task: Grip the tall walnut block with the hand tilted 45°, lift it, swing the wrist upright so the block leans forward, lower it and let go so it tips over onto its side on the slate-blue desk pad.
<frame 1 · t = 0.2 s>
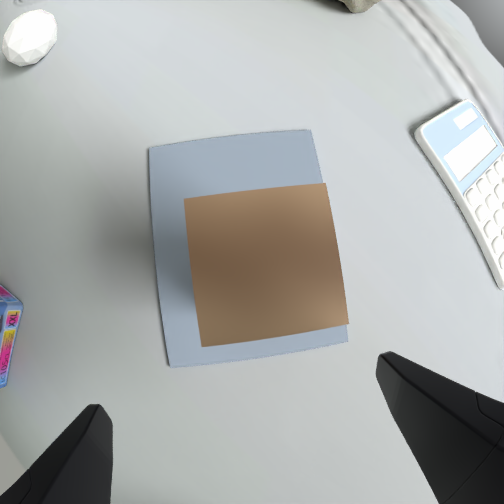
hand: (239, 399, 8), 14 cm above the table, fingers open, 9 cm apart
calculator: (486, 189, 27), on the table
geometric ball: (41, 54, 26), on the table
desk pad: (244, 241, 24), on the table
walnut block: (249, 279, 23), resting on desk pad
ink cartridge box: (0, 334, 21), on the table
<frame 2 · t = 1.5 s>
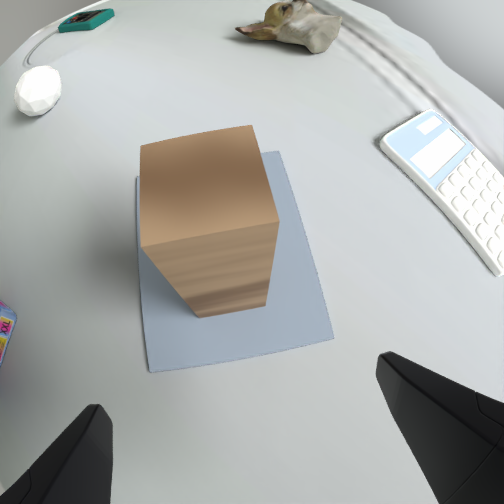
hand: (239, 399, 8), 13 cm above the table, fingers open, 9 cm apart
calculator: (462, 186, 29), on the table
geometric ball: (48, 108, 34), on the table
digital multimeter: (86, 25, 49), on the table
desk pad: (221, 247, 25), on the table
ceramic sculpture: (291, 42, 39), on the table
walnut block: (226, 281, 23), resting on desk pad
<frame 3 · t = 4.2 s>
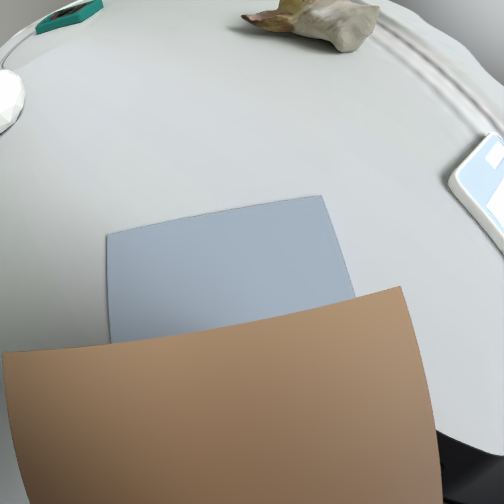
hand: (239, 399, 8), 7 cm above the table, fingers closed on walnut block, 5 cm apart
geometric ball: (10, 123, 25), on the table
digital multimeter: (69, 22, 40), on the table
desk pad: (240, 363, 15), on the table
ceramic sculpture: (312, 37, 30), on the table
walnut block: (250, 417, 14), resting on desk pad, touching gripper
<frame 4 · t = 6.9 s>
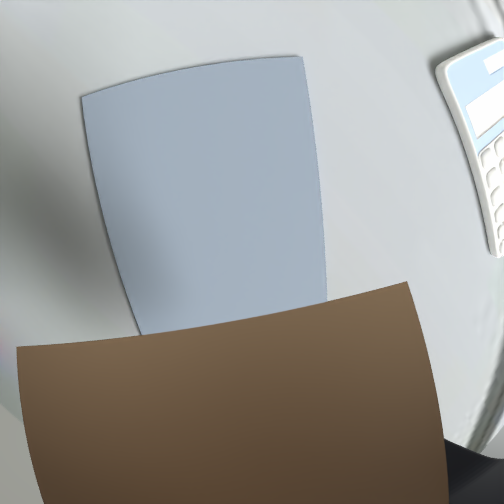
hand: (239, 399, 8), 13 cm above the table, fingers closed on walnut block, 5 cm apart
calculator: (501, 143, 21), on the table
desk pad: (212, 208, 19), on the table
walnut block: (250, 415, 14), point 9 cm above the table, tilted 45°, touching gripper
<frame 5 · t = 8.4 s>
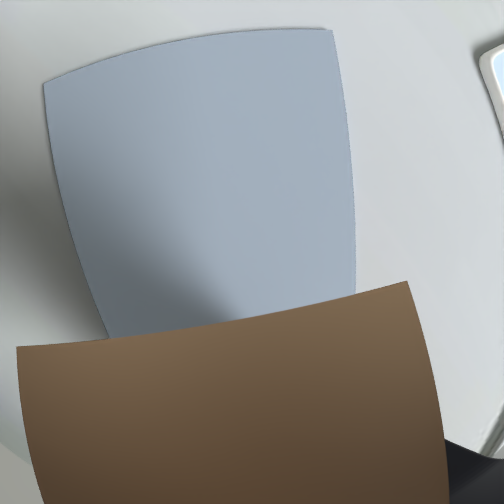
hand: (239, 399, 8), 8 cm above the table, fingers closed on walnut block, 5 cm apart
desk pad: (213, 228, 14), on the table
walnut block: (250, 415, 14), point 4 cm above the table, tilted 45°, touching gripper
when the fingers open (7 cm above the table, at t = 9.3 s): walnut block moves 2 cm and tips over, resting on desk pad.
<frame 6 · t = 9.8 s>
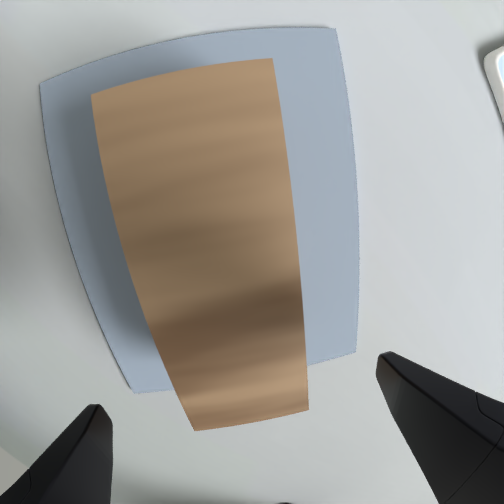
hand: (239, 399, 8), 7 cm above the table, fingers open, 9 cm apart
desk pad: (213, 232, 14), on the table
walnut block: (244, 383, 14), point 3 cm above the table, tilted 90°, touching desk pad
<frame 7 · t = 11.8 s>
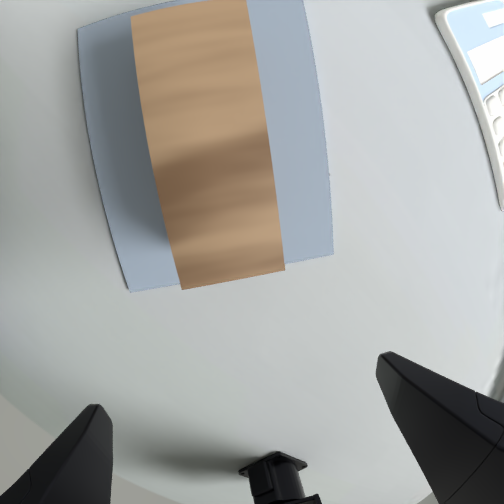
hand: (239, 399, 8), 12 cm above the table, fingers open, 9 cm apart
desk pad: (206, 133, 17), on the table
walnut block: (229, 259, 17), point 3 cm above the table, tilted 90°, touching desk pad
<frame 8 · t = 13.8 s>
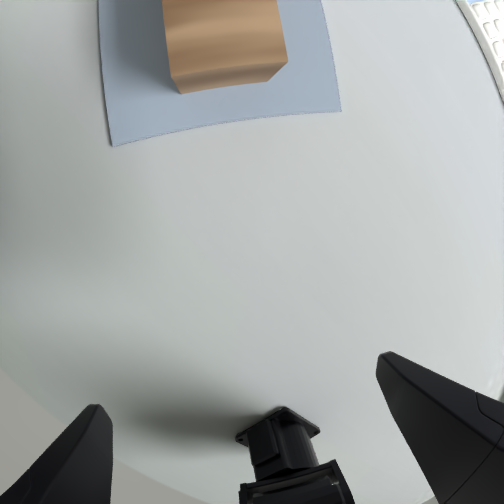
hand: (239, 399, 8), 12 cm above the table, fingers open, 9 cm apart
calculator: (493, 17, 15), on the table
walnut block: (226, 78, 13), point 3 cm above the table, tilted 90°, touching desk pad
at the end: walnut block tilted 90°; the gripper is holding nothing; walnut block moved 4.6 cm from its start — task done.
